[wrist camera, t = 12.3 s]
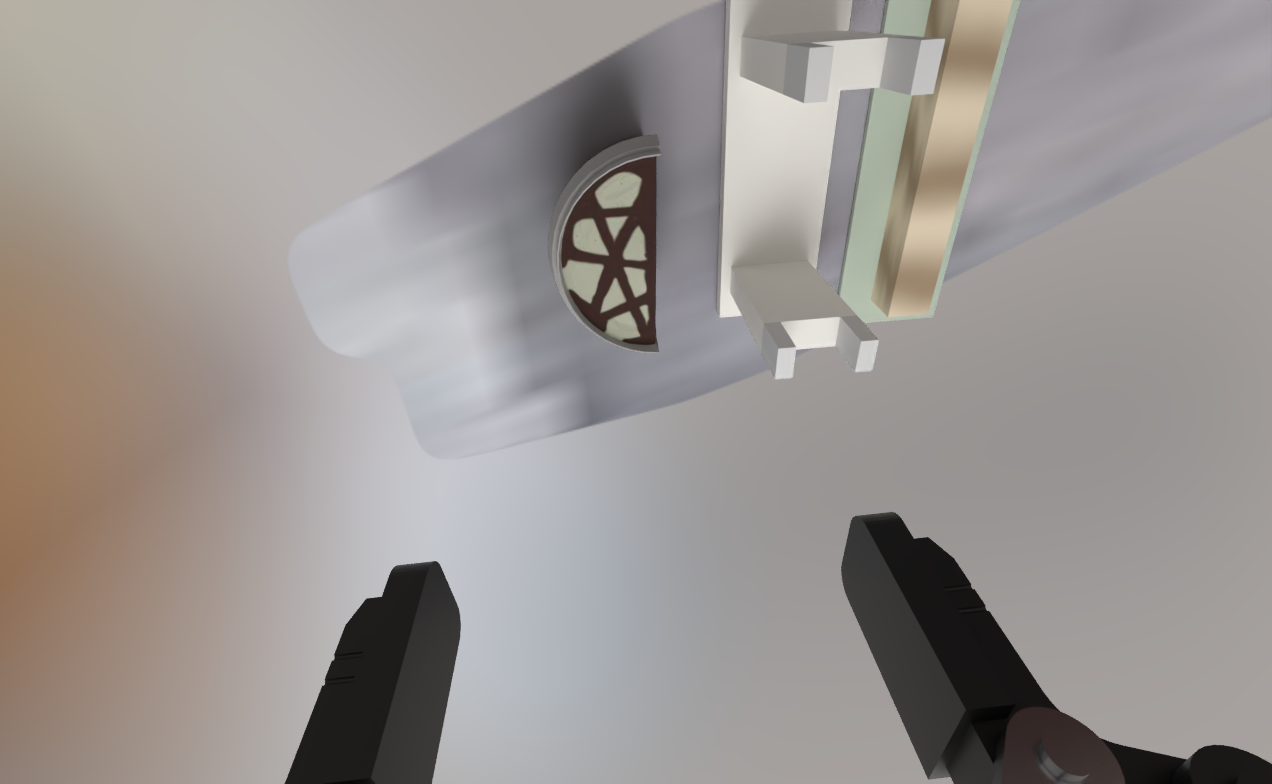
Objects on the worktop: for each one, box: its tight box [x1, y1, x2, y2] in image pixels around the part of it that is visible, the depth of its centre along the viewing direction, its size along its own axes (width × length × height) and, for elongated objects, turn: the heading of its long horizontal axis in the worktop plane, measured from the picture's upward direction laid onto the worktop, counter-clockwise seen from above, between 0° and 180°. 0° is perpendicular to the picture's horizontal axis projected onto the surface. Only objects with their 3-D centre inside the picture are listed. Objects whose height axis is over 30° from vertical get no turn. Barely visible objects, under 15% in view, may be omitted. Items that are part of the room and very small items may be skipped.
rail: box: [871, 0, 1013, 317], centre depth 37 cm, size 20×3×3 cm, turn 3°
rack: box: [717, 0, 945, 379], centre depth 32 cm, size 20×7×13 cm, turn 3°
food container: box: [548, 134, 661, 353], centre depth 34 cm, size 12×6×10 cm, turn 1°
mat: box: [838, 0, 1020, 323], centre depth 38 cm, size 24×8×1 cm, turn 3°
